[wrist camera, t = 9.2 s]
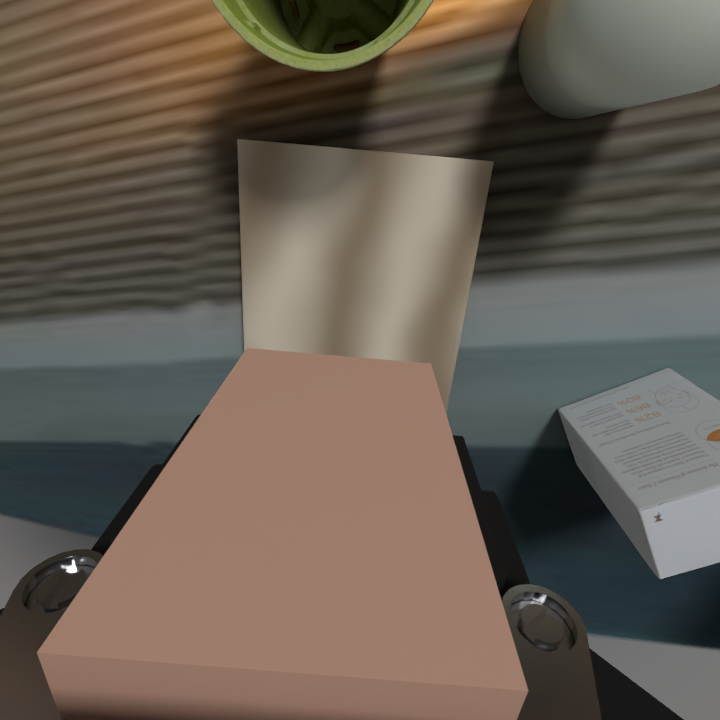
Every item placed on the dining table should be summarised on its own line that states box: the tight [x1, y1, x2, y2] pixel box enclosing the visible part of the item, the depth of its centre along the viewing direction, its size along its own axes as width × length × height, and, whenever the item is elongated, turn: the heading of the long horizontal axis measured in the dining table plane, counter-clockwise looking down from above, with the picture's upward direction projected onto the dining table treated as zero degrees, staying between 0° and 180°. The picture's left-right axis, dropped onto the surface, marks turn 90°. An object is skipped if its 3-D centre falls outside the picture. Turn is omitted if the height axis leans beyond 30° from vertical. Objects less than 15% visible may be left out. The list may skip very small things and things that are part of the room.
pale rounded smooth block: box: [518, 0, 720, 119], centre depth 18 cm, size 7×7×9 cm
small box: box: [558, 368, 720, 579], centre depth 27 cm, size 8×6×10 cm
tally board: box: [237, 139, 494, 412], centre depth 27 cm, size 14×16×2 cm
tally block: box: [37, 348, 528, 720], centre depth 9 cm, size 5×5×8 cm
